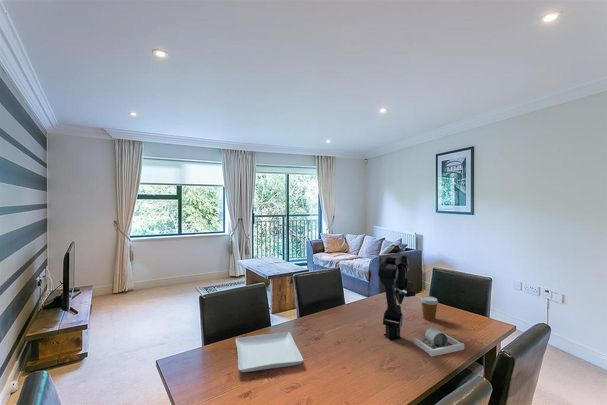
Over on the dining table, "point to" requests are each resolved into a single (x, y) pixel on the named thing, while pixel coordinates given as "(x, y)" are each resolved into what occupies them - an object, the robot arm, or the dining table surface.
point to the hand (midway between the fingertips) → (400, 304)
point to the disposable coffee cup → (429, 307)
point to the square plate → (267, 352)
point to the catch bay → (443, 350)
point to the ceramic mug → (435, 338)
